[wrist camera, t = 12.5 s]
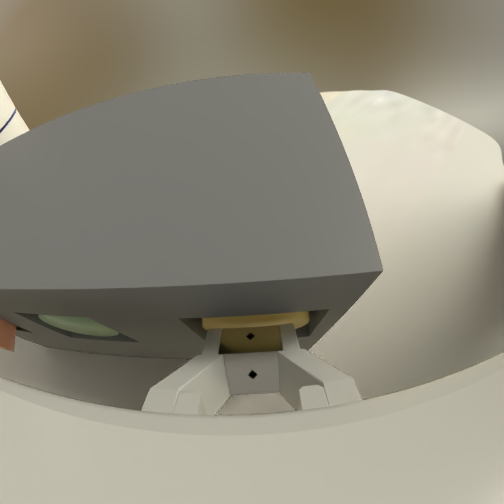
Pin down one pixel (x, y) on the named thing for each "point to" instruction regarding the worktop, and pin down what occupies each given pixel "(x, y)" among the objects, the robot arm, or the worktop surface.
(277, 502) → the robot arm
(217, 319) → the ochre button
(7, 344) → the terracotta button
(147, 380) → the worktop surface
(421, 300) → the worktop surface
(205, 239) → the control panel
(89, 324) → the sage green button
